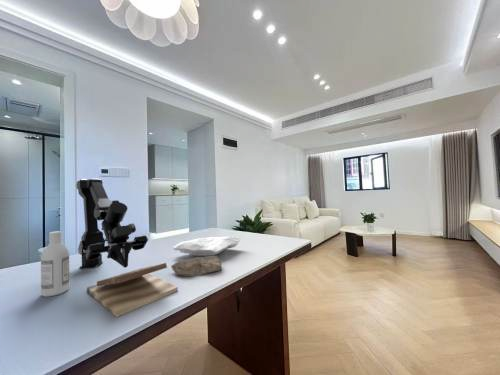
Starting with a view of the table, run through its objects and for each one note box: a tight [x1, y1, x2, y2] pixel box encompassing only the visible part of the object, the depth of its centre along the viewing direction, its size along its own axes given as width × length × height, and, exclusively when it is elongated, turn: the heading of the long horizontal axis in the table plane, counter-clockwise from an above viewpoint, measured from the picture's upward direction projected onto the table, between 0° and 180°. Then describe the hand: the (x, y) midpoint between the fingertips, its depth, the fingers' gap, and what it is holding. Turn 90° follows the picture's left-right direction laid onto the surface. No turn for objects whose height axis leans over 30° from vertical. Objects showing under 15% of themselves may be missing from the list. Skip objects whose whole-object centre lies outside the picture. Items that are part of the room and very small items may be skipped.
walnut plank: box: [96, 262, 168, 286], centre depth 70 cm, size 2×14×20 cm
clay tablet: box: [171, 255, 222, 277], centre depth 88 cm, size 14×5×20 cm
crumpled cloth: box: [172, 236, 241, 257], centre depth 109 cm, size 24×35×9 cm
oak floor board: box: [86, 273, 178, 318], centre depth 70 cm, size 25×18×1 cm
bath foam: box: [40, 230, 70, 298], centre depth 71 cm, size 7×7×20 cm
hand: (126, 266), depth 73 cm, fingers closed
